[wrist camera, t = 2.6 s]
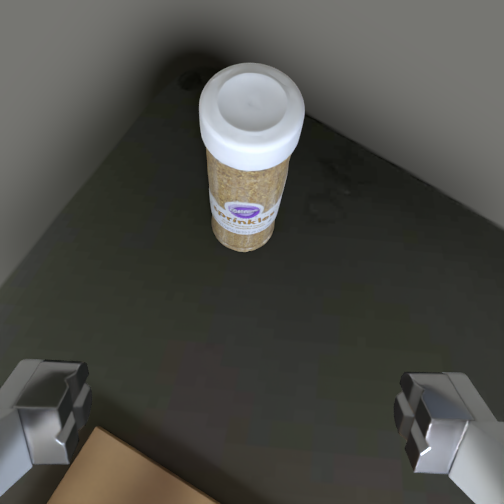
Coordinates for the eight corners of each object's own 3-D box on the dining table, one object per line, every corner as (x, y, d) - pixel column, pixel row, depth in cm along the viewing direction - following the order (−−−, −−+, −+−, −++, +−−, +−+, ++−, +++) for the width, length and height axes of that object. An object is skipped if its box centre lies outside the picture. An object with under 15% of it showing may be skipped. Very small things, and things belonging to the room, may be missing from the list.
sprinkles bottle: (218, 259, 30) (207, 157, 17) (206, 200, 31) (189, 65, 18) (281, 247, 30) (318, 139, 17) (267, 189, 31) (292, 51, 19)
